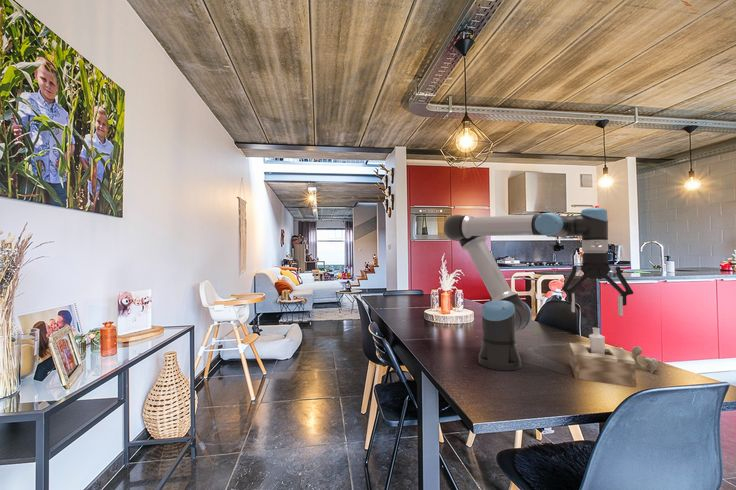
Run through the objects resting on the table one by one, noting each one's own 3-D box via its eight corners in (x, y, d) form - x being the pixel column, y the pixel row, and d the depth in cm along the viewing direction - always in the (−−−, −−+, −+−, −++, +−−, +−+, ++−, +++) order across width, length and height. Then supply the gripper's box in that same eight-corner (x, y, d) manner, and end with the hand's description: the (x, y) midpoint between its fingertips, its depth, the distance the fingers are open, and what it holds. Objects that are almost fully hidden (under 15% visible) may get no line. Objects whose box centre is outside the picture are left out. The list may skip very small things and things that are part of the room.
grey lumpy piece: (672, 369, 110) (657, 344, 110) (661, 380, 109) (645, 355, 109) (646, 362, 119) (632, 340, 118) (635, 373, 117) (621, 350, 117)
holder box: (575, 378, 107) (574, 354, 107) (570, 364, 121) (569, 342, 121) (636, 386, 99) (635, 360, 100) (623, 370, 114) (622, 347, 114)
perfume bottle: (587, 370, 112) (584, 327, 112) (597, 368, 113) (594, 326, 113) (599, 375, 107) (596, 330, 108) (609, 373, 108) (606, 329, 109)
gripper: (554, 252, 114) (555, 312, 114) (644, 252, 103) (645, 318, 102) (553, 252, 121) (554, 308, 120) (637, 252, 110) (638, 314, 109)
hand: (596, 313), depth 111 cm, fingers open, 13 cm apart
